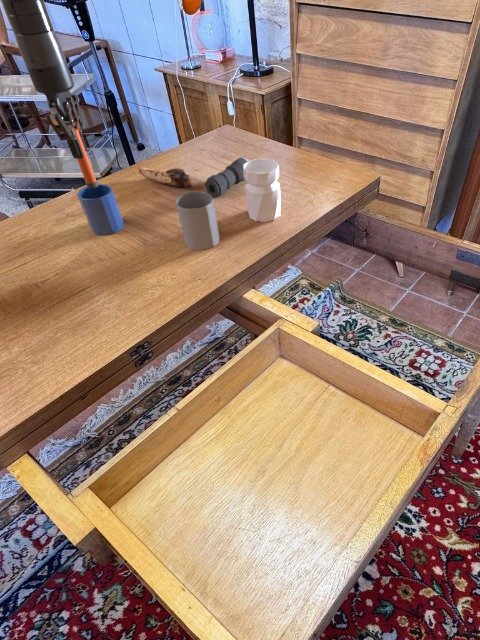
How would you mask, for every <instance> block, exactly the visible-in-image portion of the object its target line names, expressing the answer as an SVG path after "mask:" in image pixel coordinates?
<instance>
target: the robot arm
mask: <svg viewBox="0 0 480 640" xmlns="http://www.w3.org/2000/svg"><path fill="white" fill-rule="evenodd" d="M0 2H1V5H2V7H3V9H4V12H5V13H4V14H5V15H6V17H7V20H8V22H9V25H10V27H11V31H12V32H13V35H14V37H15V41H16V44H17V48H18V50H19V53H20V56H21V58H22V61H23V64H24V65H25V68H26V70H27V73H28V75H29V78H30V80H31V83H32V84H33V87H34V90H35V91H36V92H37V93H39V94H42V95H44V96H45V98H46V102H47V106H48V108H49V112H50V113H49V114H46V115H45V118H46V120H47V121H48V124H49V125H50V127H51V128H52V129H53V131H54V132H55V134H56V136H57V137H58V139H59V140H60V141H66V143H67V145H68V148H69V151H70V154H71V156H72V158H73V159H77V158H83V156H84V155H83V152H82V149H81V147H80V144H79V141H78V139H77V136H76V133H75V130H74V128H77V129H78V132H79V134H80V137H81V140H82V143H83V145H84V148H85V151H86V153H87V152H88V148H87V144H86V142H85V138H84V137H83V134H82V133H83V129H82V128H83V127H84V122H83V116H82V112H81V106H80V102H79V96H78V95H77V94H71V91H70V90H72V89H73V88H74V86H75V81H74V79H73V76H72V73H71V71H70V68H69V65H68V62H67V58H66V56H65V53H64V50H63V47H62V45H61V43H60V40H59V37H58V35H57V33H56V32H55V29H54V26H53V23H52V21H51V17H50V14H49V12H48V10H47V6H46V4H45V1H44V0H0ZM69 129H70V130H69ZM70 131H71V132H70Z"/></svg>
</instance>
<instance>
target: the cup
mask: <svg viewBox="0 0 480 640" xmlns="http://www.w3.org/2000/svg"><path fill="white" fill-rule="evenodd" d="M175 206H176V210H177V214H178V219H179V223H180V227H181V231H182V235H183V239H184V243H185V245H186V247H188V248H190V249H191V250H197V251H202V250H203V251H204V250H205V251H206V250H209V249H212V248H215V247H216V246H217V245H218V244H219V243H220V240H221V237H220V230H219V225H218V219H217V215H216V214H217V213H216V208H215V203H214V197H212V196H211V195H210V194H208V192H207V191H206V192H205V191H188V192H186V193H183V194H181V195H180V196H178V197H177V198H176V200H175Z"/></svg>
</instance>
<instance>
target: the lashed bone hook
mask: <svg viewBox="0 0 480 640" xmlns="http://www.w3.org/2000/svg"><path fill="white" fill-rule="evenodd" d="M138 173H139V174H140V175H141V176H143V177H144V178H146V179H147V180H149V181H154V182H156V183H159V184H162V185H168V186H172V187H177V188H191V187H193V184H192V181H191V179H190V177H189V174H187V173H186V170H185V169H184V168H179V167H177V168H175V167H174V168H170V169H168V170H165V171H160V170H157V169H152V168H148V167H143V166H140V167H138Z"/></svg>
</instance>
